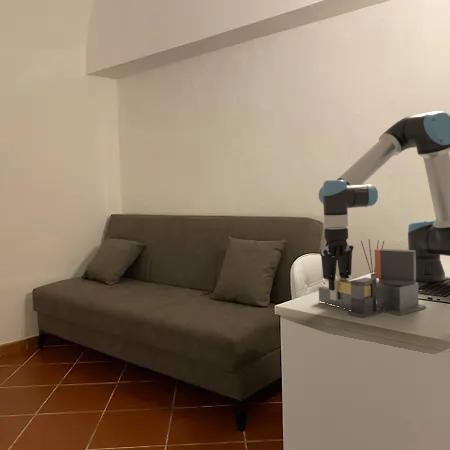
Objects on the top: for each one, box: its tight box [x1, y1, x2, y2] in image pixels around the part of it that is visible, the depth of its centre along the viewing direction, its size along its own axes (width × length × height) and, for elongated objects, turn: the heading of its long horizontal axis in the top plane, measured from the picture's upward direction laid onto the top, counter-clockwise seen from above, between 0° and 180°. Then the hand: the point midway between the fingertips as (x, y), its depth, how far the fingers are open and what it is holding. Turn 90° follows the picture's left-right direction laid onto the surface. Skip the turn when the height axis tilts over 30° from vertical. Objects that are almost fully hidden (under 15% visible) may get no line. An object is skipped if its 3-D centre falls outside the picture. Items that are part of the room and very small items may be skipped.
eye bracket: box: [318, 277, 383, 319], centre depth 162 cm, size 9×22×10 cm, turn 33°
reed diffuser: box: [360, 239, 385, 283], centre depth 177 cm, size 10×7×20 cm
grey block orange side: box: [374, 248, 417, 286], centre depth 158 cm, size 12×11×10 cm
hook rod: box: [335, 277, 371, 298], centre depth 159 cm, size 3×14×4 cm, turn 33°
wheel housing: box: [376, 281, 427, 316], centre depth 159 cm, size 12×12×8 cm
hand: (338, 298), depth 164 cm, fingers closed on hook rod, 3 cm apart
